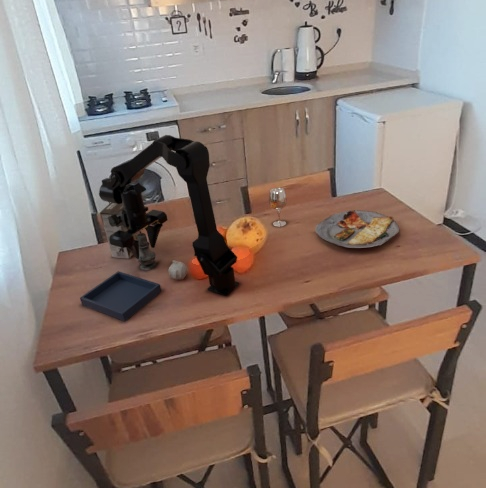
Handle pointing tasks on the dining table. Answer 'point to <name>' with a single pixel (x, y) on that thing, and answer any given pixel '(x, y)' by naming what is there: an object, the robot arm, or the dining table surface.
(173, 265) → the garlic
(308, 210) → the dining table surface
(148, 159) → the robot arm
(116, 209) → the coffee box
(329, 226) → the food plate
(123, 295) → the tray
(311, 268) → the dining table surface
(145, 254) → the grey tall tiered piece
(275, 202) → the wineglass
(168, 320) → the dining table surface
